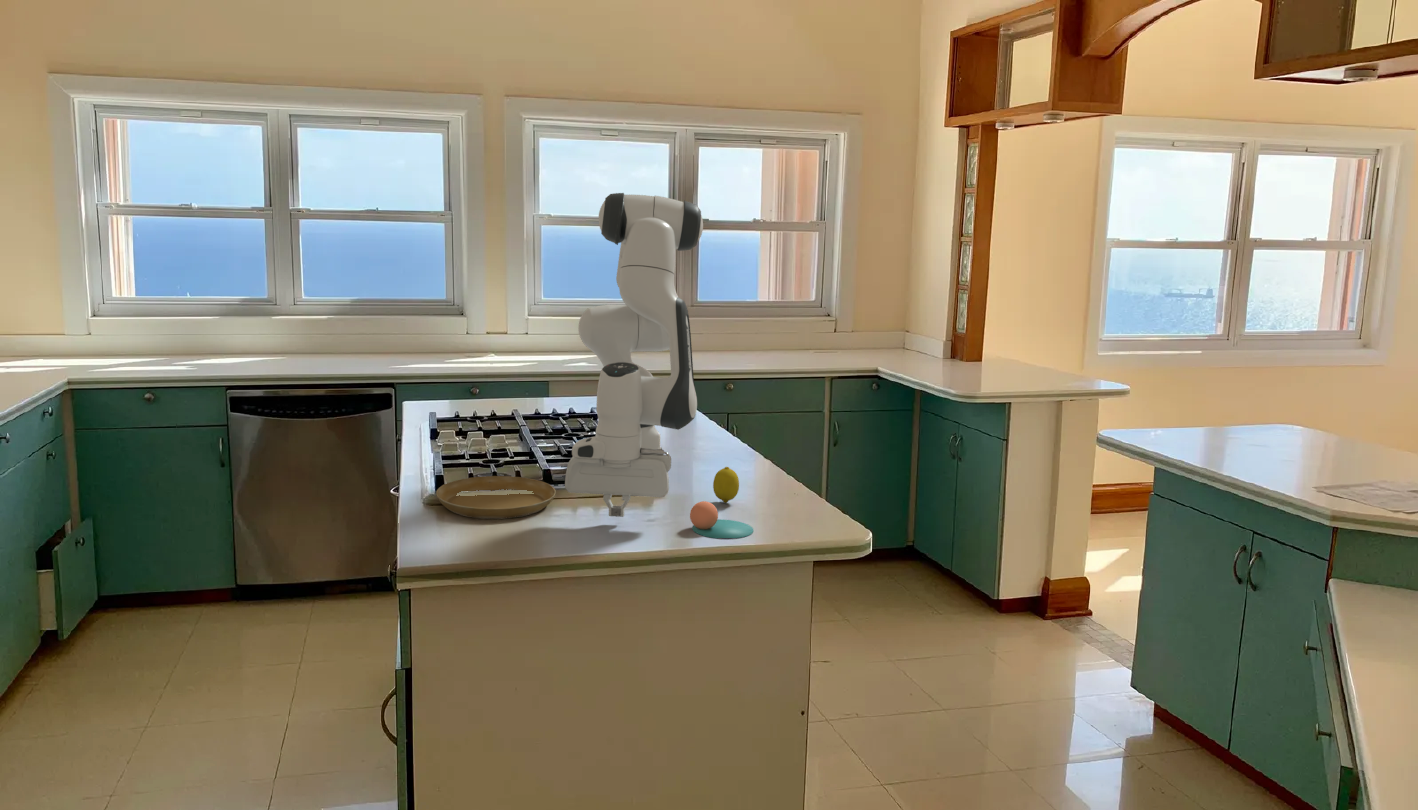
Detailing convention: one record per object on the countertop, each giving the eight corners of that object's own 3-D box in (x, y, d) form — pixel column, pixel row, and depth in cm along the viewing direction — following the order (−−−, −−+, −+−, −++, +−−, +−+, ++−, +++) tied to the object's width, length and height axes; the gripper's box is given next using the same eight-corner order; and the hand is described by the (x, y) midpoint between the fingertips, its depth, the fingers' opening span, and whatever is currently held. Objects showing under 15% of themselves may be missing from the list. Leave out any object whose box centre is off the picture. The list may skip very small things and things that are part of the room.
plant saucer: (556, 523, 202) (556, 506, 201) (430, 524, 198) (430, 507, 197) (554, 490, 225) (554, 475, 225) (441, 490, 221) (441, 475, 221)
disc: (694, 518, 207) (694, 518, 207) (753, 522, 207) (753, 521, 207) (690, 537, 195) (690, 536, 195) (753, 540, 195) (753, 539, 195)
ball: (684, 509, 203) (704, 491, 202) (703, 529, 204) (723, 511, 203) (683, 519, 198) (704, 501, 197) (703, 539, 199) (723, 520, 198)
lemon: (735, 507, 217) (737, 470, 215) (710, 505, 218) (711, 468, 216) (740, 500, 222) (742, 465, 220) (715, 498, 223) (716, 462, 222)
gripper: (672, 446, 202) (670, 514, 204) (569, 441, 202) (568, 508, 205) (670, 453, 196) (667, 523, 198) (563, 448, 196) (562, 517, 199)
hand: (616, 515), depth 201 cm, fingers closed
